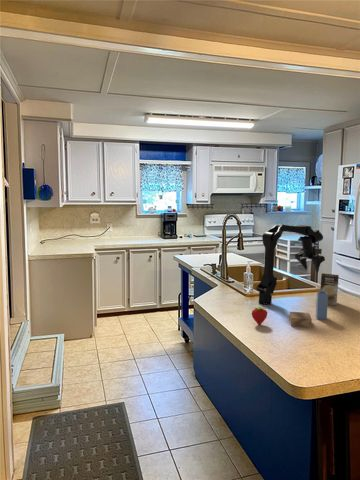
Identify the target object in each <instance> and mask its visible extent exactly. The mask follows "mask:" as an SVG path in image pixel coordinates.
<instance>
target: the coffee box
mask: <svg viewBox="0 0 360 480" xmlns="http://www.w3.org/2000/svg"><path fill="white" fill-rule="evenodd" d="M320 277H321V278H320V290H325V292H327V293H328V306H329V305H331V306H337V304H338V303H337V302H338V292H339V291H338V290H339V274H332V273H325V272H324V273H321V276H320ZM320 290H319V291H320Z"/></svg>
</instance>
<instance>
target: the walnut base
mask: <svg viewBox="0 0 360 480" xmlns="http://www.w3.org/2000/svg"><path fill="white" fill-rule="evenodd" d="M289 324H290V326H291V327H300V328H312V316H311V314H310V312H302V311H301V312H300V311H289Z"/></svg>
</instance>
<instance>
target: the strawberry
mask: <svg viewBox="0 0 360 480" xmlns="http://www.w3.org/2000/svg"><path fill="white" fill-rule="evenodd" d="M251 316H252V319H253V320H254V321H255V322H256V324H257V325H259V326H260V325H262V324H263V323H264V321H265V320H266V319H267V317H268V311H267V310H266V307H262V306H258V307H255V308H254V309H253V310H252V312H251Z"/></svg>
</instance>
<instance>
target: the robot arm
mask: <svg viewBox="0 0 360 480" xmlns="http://www.w3.org/2000/svg"><path fill="white" fill-rule="evenodd" d="M284 232H287V233H295V234H298V235H300V236H299V238H298V241H299V242H301V248H300V250H301V251H300V252H297V253H295V255H294V256H295V257H294V259H295V260H296V261H298V262H299V263H300V265H301V266H302V267H303V269H304V270H308V264H307V262H308V261H307V260H308V259H309V260H312V265H313V268H314V270H315V272H316V273H319V271H320V267H321V264H322V263H323V262H325V261H326V259H325V258H326V257H325V256H324V255H322V251H323V250H322V248H320V247H319V248H318V247H317V248H316V247H315V246H313V244H317V243H319V242H321V241H323V239H324V235H323V234H322V232H320V230H319V229H316V230H313V229H312V226H311V225H306V224H305V225H303V224H301V225H300V224H299V225H288V224H283V223H277V224H275V225H273V227H271V228H269V229H268V230H266V231H265V232H264V233H263V234H262V237H261V239H262V244H263V246H264V268H263V269H264V270H263V274H262V276H261V278H260V282H259V283H258V285H257V286H256V291H257V292H258V305H269V306H270V305H271V304H272V297H273V296H272V295H273V294H274V291H275V290H276V286H277V281H278V277H276V276H275V275H274V261H275V259H274V257H275V248H276V246H277V245H278V242H279V239H280V238H281V237H282V235H283V233H284Z"/></svg>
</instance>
